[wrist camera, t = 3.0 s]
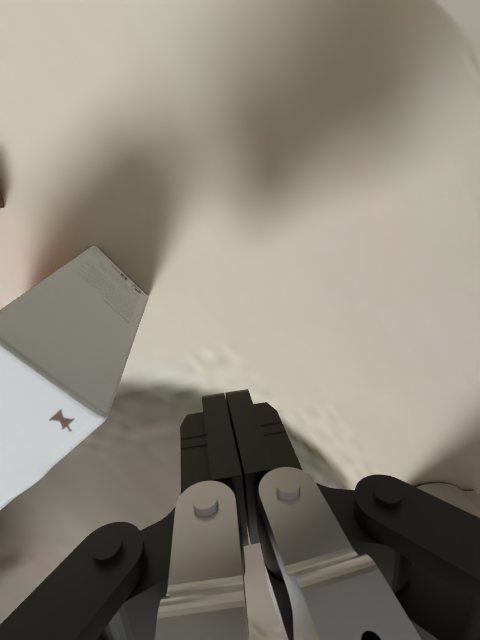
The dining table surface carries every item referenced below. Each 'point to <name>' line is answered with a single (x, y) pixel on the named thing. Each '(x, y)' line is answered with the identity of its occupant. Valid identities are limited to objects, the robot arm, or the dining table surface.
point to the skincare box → (62, 364)
